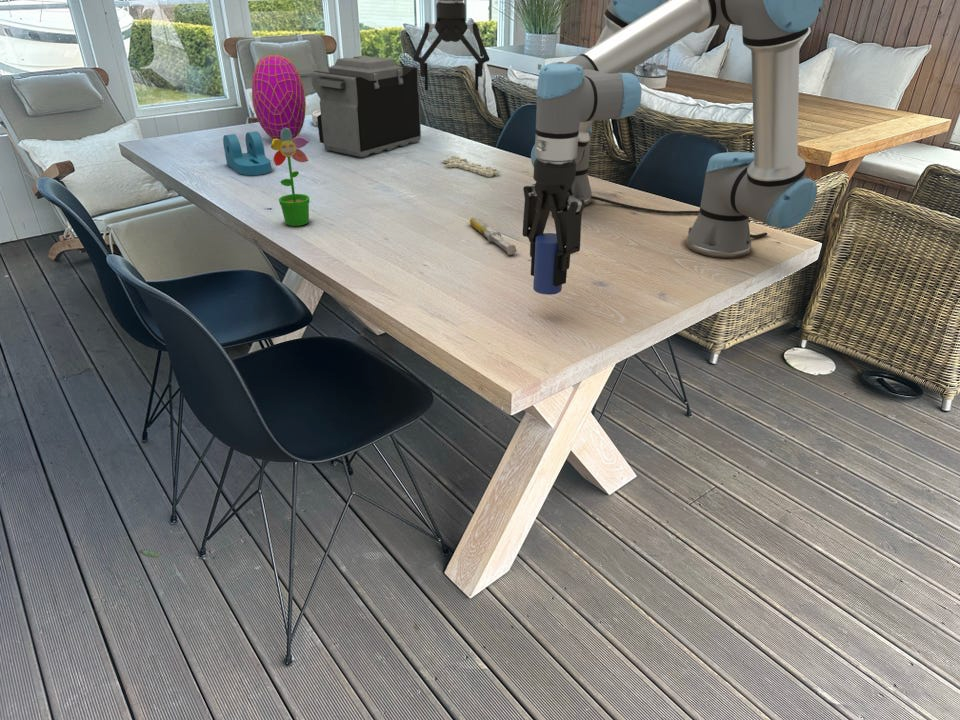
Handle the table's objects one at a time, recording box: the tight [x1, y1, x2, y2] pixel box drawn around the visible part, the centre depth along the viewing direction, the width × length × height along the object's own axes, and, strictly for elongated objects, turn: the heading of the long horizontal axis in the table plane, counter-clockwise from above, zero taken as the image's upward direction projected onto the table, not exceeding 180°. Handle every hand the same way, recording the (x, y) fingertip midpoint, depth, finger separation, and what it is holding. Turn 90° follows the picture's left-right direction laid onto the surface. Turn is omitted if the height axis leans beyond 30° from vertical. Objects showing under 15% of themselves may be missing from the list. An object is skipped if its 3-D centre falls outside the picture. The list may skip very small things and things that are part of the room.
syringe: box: [469, 216, 518, 256], centre depth 174 cm, size 25×4×3 cm, turn 21°
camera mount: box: [222, 131, 272, 176], centre depth 226 cm, size 18×10×10 cm, turn 35°
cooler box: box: [310, 55, 422, 159], centre depth 250 cm, size 37×22×30 cm, turn 144°
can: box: [532, 232, 563, 296], centre depth 132 cm, size 6×6×10 cm
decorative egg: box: [251, 54, 307, 141], centre depth 257 cm, size 19×19×30 cm
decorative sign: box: [442, 155, 499, 178], centre depth 232 cm, size 26×1×10 cm
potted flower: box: [270, 128, 310, 227], centre depth 177 cm, size 9×8×25 cm
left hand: (451, 89), depth 187 cm, fingers open, 13 cm apart
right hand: (548, 278), depth 134 cm, fingers closed on can, 6 cm apart
